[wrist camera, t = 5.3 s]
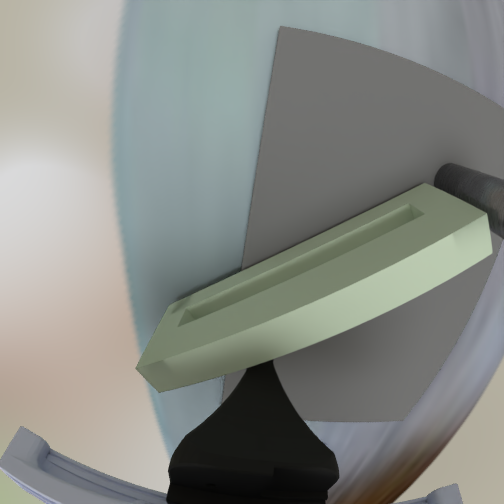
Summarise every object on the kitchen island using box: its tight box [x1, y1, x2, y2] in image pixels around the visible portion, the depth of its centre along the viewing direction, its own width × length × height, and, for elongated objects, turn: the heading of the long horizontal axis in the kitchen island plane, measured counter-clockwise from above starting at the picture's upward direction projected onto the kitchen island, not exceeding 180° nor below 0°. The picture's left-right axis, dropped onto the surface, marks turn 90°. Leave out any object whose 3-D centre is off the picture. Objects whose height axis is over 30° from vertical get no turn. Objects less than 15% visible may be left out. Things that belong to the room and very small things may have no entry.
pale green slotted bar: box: [136, 183, 493, 393], centre depth 11 cm, size 14×2×5 cm, turn 119°
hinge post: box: [434, 163, 504, 239], centre depth 9 cm, size 2×2×7 cm
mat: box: [222, 26, 504, 422], centre depth 14 cm, size 22×14×1 cm, turn 172°
